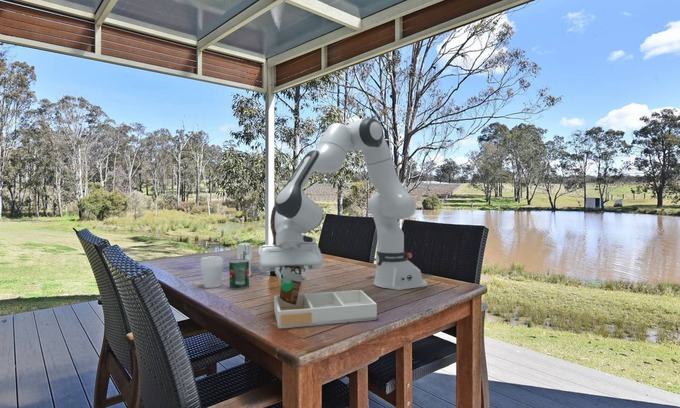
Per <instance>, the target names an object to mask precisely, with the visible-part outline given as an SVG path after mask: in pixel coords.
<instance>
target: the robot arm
mask: <svg viewBox="0 0 680 408" xmlns="http://www.w3.org/2000/svg"><path fill="white" fill-rule="evenodd" d="M357 151H361V152H362V153H363V158H364V163H365V167H366V170H367V174H368V178H369V181H370V183H371V185H372V186H373V187H375V189H377V193H374V194H372V195H370V197H369V198H368V201H367V208H368V211H369V212H370V214H371V216H372V219H373V221H374V224H375V228H376V235H377V236H376V237H377V240H376V242H377V243H376V244H377V249H376V253H375V254H376V255H375V256H376V257H375V261H376V270H375V271H376V272H375V276H374V280H373V285H374V286H376V287H378V288H384V289H391V290H396V291H401V290H409V289H417V288H423V287H428V282H427V281H426V280H425V279H423V277H422V275H423V274H422V271H421V269H420V268H419V267H417V266H416V265H415V264H414V263H413V262H411V261H410V260H409V259H412V257H413V254H412V253H411V252H406V251H405V234H404V231H403V230H402V228H401V227H400V224H399V222H398V220H405V219H409V218H410V217H412V216H413V215H414V214H415V212H416V209H417V203H416V200H415V198H414V197H413V196H412V195H410V194H409V193H408V192H407V190H406V189H405V187H404V186H403V184H402V182H401V181H400V179H399V177H398V173H397V171H396V168H395V167H396V166H395V164H394V160H393V157H392V154H391V150H390V148H389V145H388V143H387V140H386V139H385V137H384V129H383V126H382V123H380V122H379V120H377V119H376V118H373V117H371V118H370V117H369V118H364V119H359V120H355V121H352V122H350V123H348V124H343V123H341V122H334V123H331V124H330V125H328V127H327V129H326V130H325V132H324V133H323V135H322V137H321V138H320V140H319V143H318V145H317V147H316V149H315V150H310V151H309V152H306V154H305V155H304V157H303V158H302V159H301V160H300V162H299V163H298V165H297V166H296V168H295V170H294V171H293V173H292V174H291V175H290V177H289V179H288V181H287V182H286V184H285V185H284V186H283V187H282V188H281V189H280V191H279V192H278V193H277V195H276V196H275V198H274V199H275V200H274V207H275V214H274V231H275V233H276V234H275V244H268V245H267V244H263V245H261V246H259V247H258V249H257V255H258V256H259V261H258V262H259V267H258V268H259V270H260V271H261V272H274V274H275V275H276V276H277V278H278V282H280V283H281V282H282V281H283V275H282V274H281V270H282V267H283V266H284V265H285V266H293V267H300V270H301V271H303V272H302V273H301V275H303V276H302V282H304V281H306V280H307V273H308V272H309V270H318V269H321V267H323V256H322V253H321V249H320V248H319V246H318V245H317V244H316V243H317V241H316V238H315V237H312V236H309V235H304V234H306V233H309V232H311V231H313V230H315V229H317V228H318V227H319V226H320V225H321V224H322V222H323V219H324V210H323V208H322V207H321V206H320V205H319V204H318V203H316V202H315V201H314V200H312V199H310V198H309V197H308V196H307V195H306V194H305V193H304V187H305V186H306V184H307V183H308V181H309V180H310V177H311V176H312V174H313V173H314V172H319V173H323V174H332V173H333V174H334V173H336V172H338V171H339V170H341V168H342V167H343V165H344V163H345V161H346V158H347V156H348V153H350V152H357Z"/></svg>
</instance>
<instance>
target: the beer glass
mask: <svg viewBox="0 0 680 408" xmlns="http://www.w3.org/2000/svg"><path fill="white" fill-rule="evenodd" d="M236 258H237V259H247V260H249V278H250V277H251V276H252V271H251V270H252V269H251V265H252V258H253V245H252V243H251V242H240V243H237V245H236Z"/></svg>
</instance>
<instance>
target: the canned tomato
mask: <svg viewBox="0 0 680 408" xmlns="http://www.w3.org/2000/svg"><path fill="white" fill-rule="evenodd" d="M228 262H229V263H228V264H229V265H228V266H229V267H228V270H229V275H228V277H229V289H231V290H245V289H248V288H249V287H250V277H249V260H247V259H231V260H229V261H228Z"/></svg>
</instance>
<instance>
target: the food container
mask: <svg viewBox="0 0 680 408" xmlns="http://www.w3.org/2000/svg"><path fill="white" fill-rule="evenodd" d="M301 272H302V270H300V267H293V266H285V265H284V266H283V267H282V270H281V271H280V273H281V274H282V275H283V281H282V282H280V283H281V284H280V288H279V289H280V290H279V296H280V298H281V299H282V300H283V301H285V302H287V303H290V304H294V305H296V302H297V298H298V294H300V289H301V285H302V282H303V281H302V276H303V275H301Z"/></svg>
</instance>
